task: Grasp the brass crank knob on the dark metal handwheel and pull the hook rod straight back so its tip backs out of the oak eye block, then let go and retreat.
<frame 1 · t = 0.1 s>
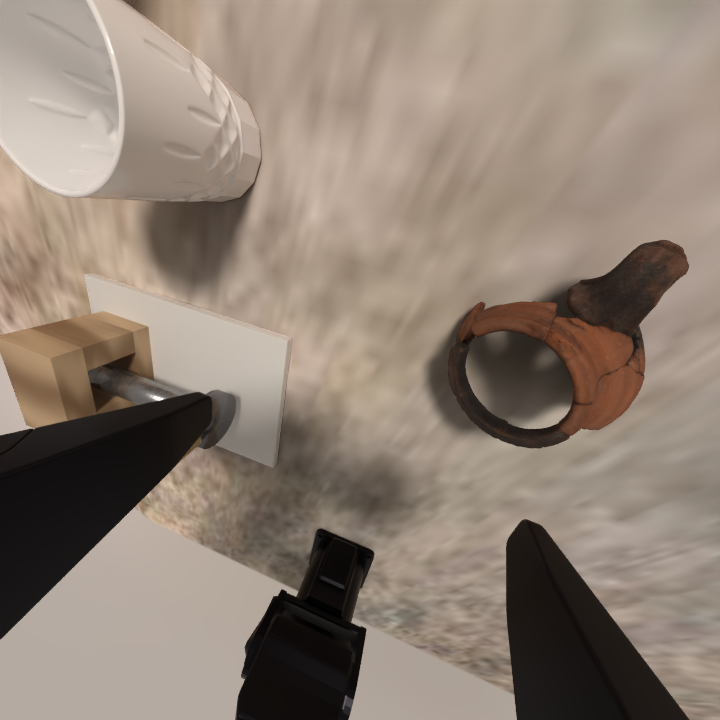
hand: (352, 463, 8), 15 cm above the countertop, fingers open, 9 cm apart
white cup: (220, 145, 20), on the countertop
brown curved loop: (545, 330, 19), on the countertop
mounting board: (190, 373, 29), on the countertop
hook rod: (108, 399, 24), point 6 cm above the countertop, slide at 0.0 cm
eye block: (131, 357, 29), resting on mounting board
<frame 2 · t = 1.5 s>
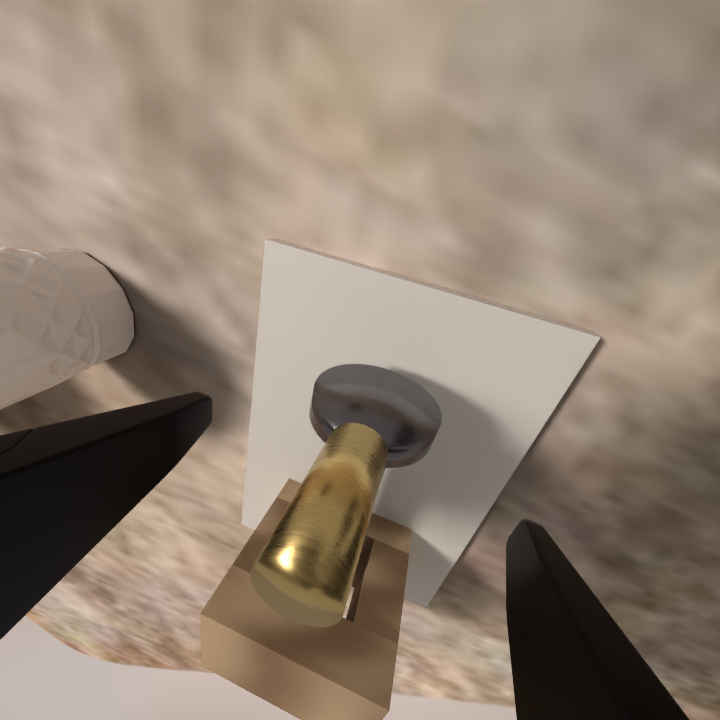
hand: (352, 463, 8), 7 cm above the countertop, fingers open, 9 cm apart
white cup: (95, 305, 19), on the countertop
mounting board: (365, 451, 17), on the countertop
hook rod: (317, 582, 13), point 6 cm above the countertop, slide at 0.0 cm
eye block: (340, 528, 19), resting on mounting board
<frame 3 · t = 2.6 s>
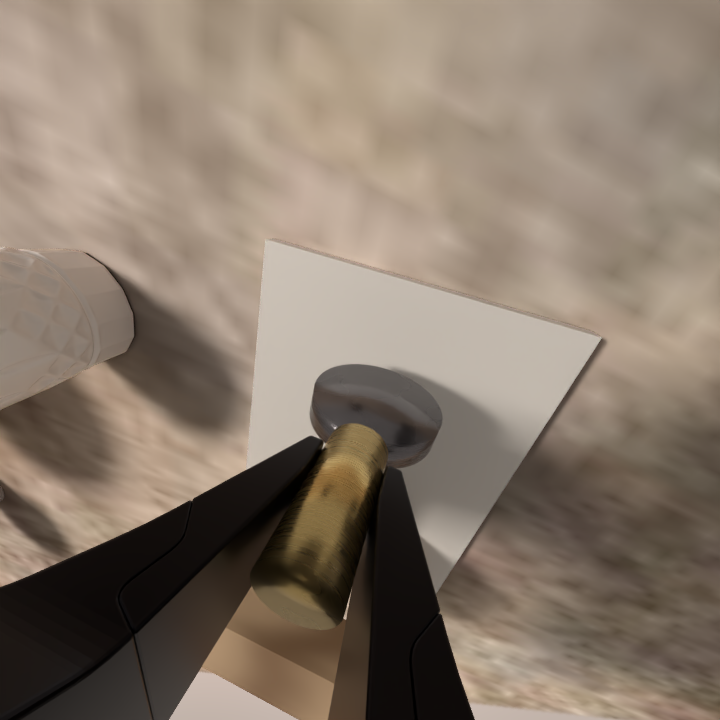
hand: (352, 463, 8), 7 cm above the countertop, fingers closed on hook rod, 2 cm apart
white cup: (95, 305, 19), on the countertop
mounting board: (366, 452, 17), on the countertop
hook rod: (317, 583, 13), point 6 cm above the countertop, slide at 0.0 cm, touching gripper
eye block: (340, 529, 19), resting on mounting board
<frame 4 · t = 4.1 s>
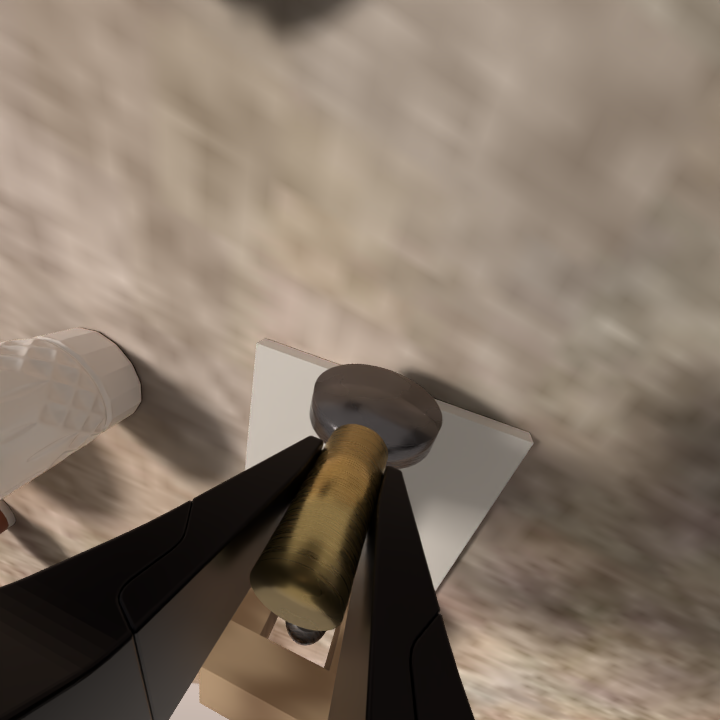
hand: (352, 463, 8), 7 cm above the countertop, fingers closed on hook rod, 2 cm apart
white cup: (106, 372, 21), on the countertop
mounting board: (346, 509, 20), on the countertop
hook rod: (316, 582, 13), point 6 cm above the countertop, slide at 5.2 cm, touching gripper
eye block: (324, 572, 22), resting on mounting board
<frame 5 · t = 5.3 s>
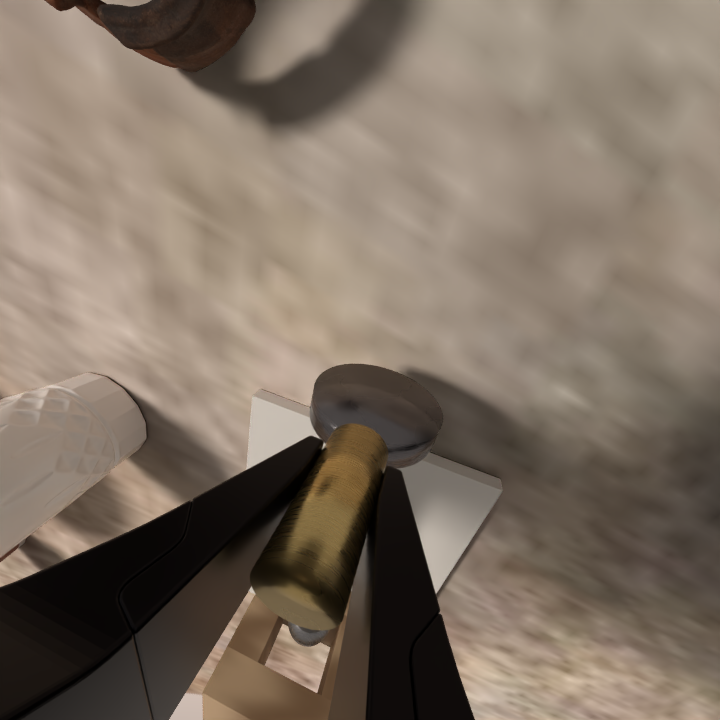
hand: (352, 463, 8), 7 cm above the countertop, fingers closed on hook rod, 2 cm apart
white cup: (113, 410, 23), on the countertop
mounting board: (338, 540, 21), on the countertop
coffee cup: (6, 523, 38), on the countertop
hook rod: (318, 583, 13), point 6 cm above the countertop, slide at 8.4 cm, touching gripper
eye block: (319, 596, 23), resting on mounting board
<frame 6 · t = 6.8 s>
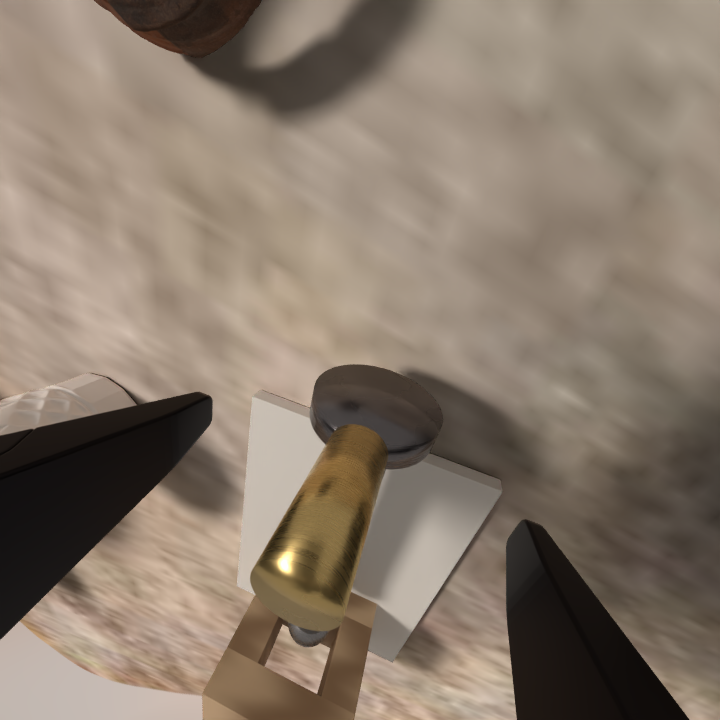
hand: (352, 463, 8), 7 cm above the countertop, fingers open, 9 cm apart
white cup: (113, 411, 23), on the countertop
mounting board: (338, 540, 21), on the countertop
hook rod: (318, 583, 13), point 6 cm above the countertop, slide at 8.4 cm
eye block: (319, 597, 23), resting on mounting board
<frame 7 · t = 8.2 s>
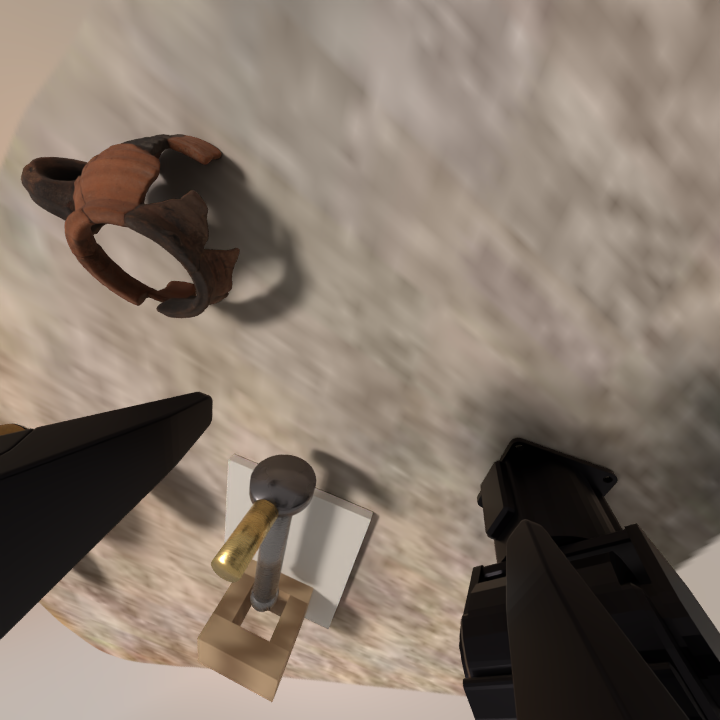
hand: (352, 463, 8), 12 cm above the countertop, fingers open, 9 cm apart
brown curved loop: (190, 220, 21), on the countertop
mounting board: (287, 546, 32), on the countertop
hook rod: (259, 571, 24), point 6 cm above the countertop, slide at 8.4 cm
eye block: (277, 584, 34), resting on mounting board
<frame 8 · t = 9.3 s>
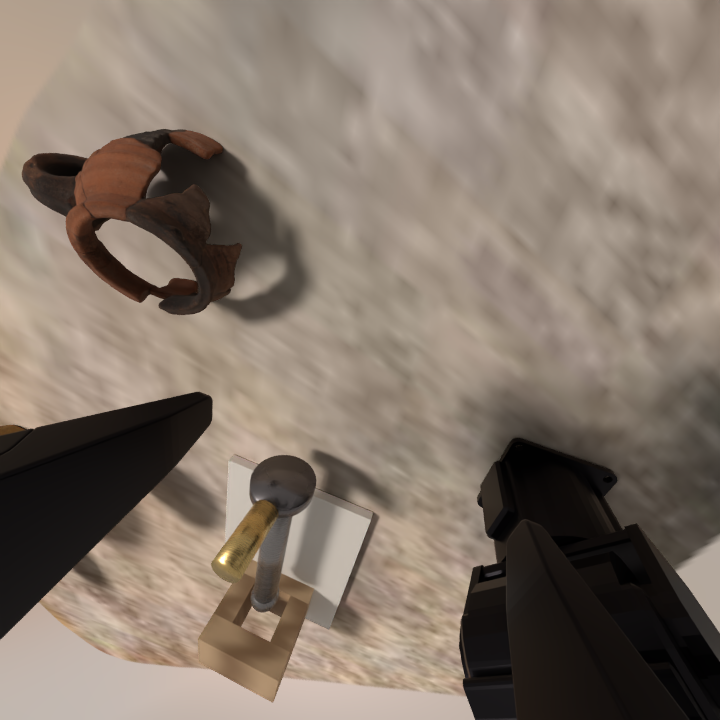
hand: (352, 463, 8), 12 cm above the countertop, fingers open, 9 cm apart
brown curved loop: (191, 216, 21), on the countertop
mounting board: (288, 547, 32), on the countertop
hook rod: (259, 572, 24), point 6 cm above the countertop, slide at 8.4 cm
eye block: (278, 585, 34), resting on mounting board
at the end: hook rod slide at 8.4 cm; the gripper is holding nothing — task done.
